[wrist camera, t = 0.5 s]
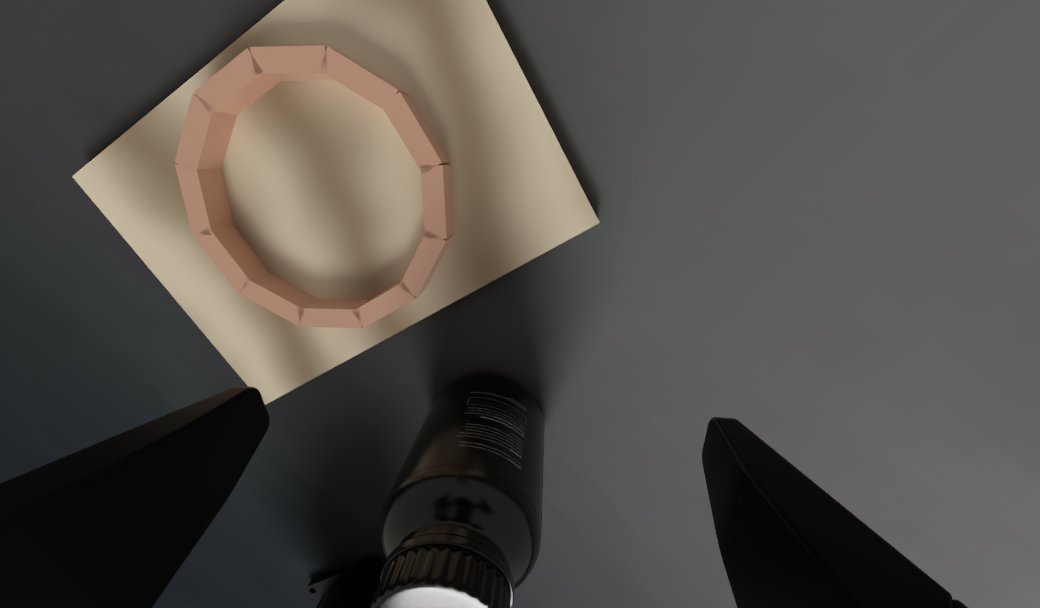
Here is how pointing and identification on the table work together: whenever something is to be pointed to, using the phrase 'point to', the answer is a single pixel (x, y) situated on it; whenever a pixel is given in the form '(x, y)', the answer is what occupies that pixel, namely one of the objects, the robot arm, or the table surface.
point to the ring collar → (209, 200)
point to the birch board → (349, 181)
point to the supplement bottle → (466, 501)
